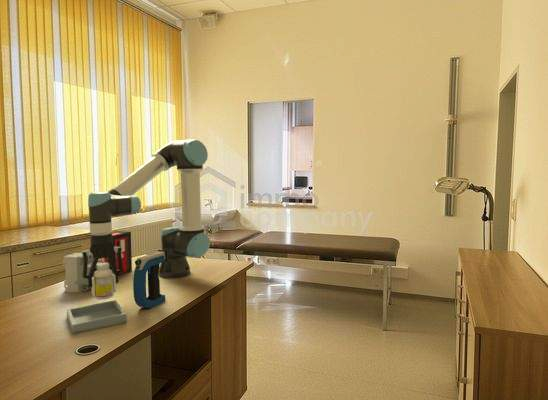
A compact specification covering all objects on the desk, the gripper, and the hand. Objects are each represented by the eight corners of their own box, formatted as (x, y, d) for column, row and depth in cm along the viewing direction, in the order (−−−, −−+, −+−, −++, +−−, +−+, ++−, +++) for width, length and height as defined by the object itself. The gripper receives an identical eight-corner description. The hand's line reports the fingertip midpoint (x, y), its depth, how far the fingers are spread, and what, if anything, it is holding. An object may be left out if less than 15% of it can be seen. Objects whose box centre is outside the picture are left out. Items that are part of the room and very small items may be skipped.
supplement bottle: (98, 294, 146) (97, 262, 145) (116, 293, 147) (114, 261, 145) (91, 300, 139) (90, 266, 138) (110, 299, 140) (108, 266, 139)
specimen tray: (116, 308, 139) (115, 300, 139) (126, 322, 126) (126, 313, 125) (66, 317, 130) (66, 309, 130) (72, 334, 117) (72, 325, 116)
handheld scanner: (170, 298, 149) (168, 249, 148) (143, 313, 134) (141, 259, 132) (160, 297, 150) (158, 249, 149) (133, 311, 135) (130, 258, 134)
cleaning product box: (109, 279, 175) (108, 237, 173) (93, 278, 177) (92, 236, 175) (131, 270, 190) (130, 231, 189) (117, 269, 193) (115, 231, 191)
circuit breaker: (94, 293, 155) (93, 258, 154) (64, 291, 158) (63, 256, 157) (106, 288, 162) (104, 254, 161) (77, 286, 165) (75, 252, 164)
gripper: (126, 229, 149) (128, 285, 151) (70, 234, 138) (73, 295, 140) (130, 232, 143) (133, 290, 145) (73, 238, 132) (76, 301, 134)
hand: (104, 293), depth 143 cm, fingers closed on supplement bottle, 7 cm apart
